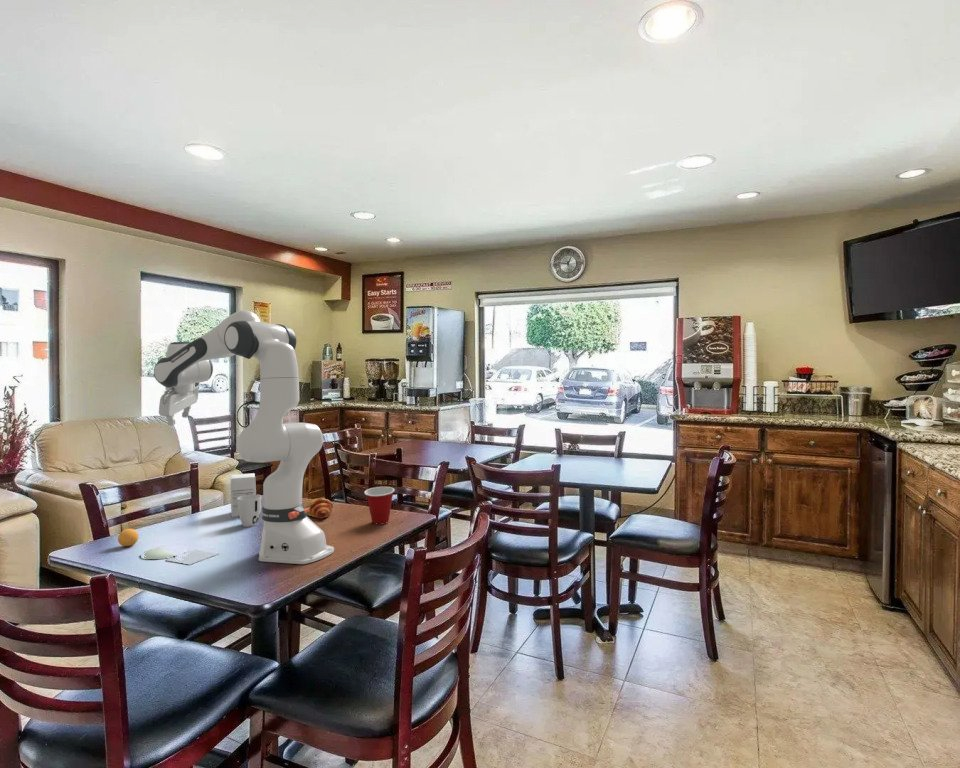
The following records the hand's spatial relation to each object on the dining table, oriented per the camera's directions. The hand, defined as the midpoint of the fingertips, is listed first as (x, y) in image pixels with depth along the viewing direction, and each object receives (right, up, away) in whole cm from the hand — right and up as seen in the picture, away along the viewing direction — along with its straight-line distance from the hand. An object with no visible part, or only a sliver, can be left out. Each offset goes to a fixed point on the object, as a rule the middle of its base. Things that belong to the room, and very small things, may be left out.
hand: (178, 420), depth 199 cm
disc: (+15, -38, -34) cm, 53 cm away
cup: (+28, -38, -3) cm, 47 cm away
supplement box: (+18, -37, +13) cm, 44 cm away
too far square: (+26, -38, -38) cm, 60 cm away
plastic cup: (+75, -37, -3) cm, 83 cm away
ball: (-1, -35, -27) cm, 44 cm away
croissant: (+49, -37, +10) cm, 62 cm away
